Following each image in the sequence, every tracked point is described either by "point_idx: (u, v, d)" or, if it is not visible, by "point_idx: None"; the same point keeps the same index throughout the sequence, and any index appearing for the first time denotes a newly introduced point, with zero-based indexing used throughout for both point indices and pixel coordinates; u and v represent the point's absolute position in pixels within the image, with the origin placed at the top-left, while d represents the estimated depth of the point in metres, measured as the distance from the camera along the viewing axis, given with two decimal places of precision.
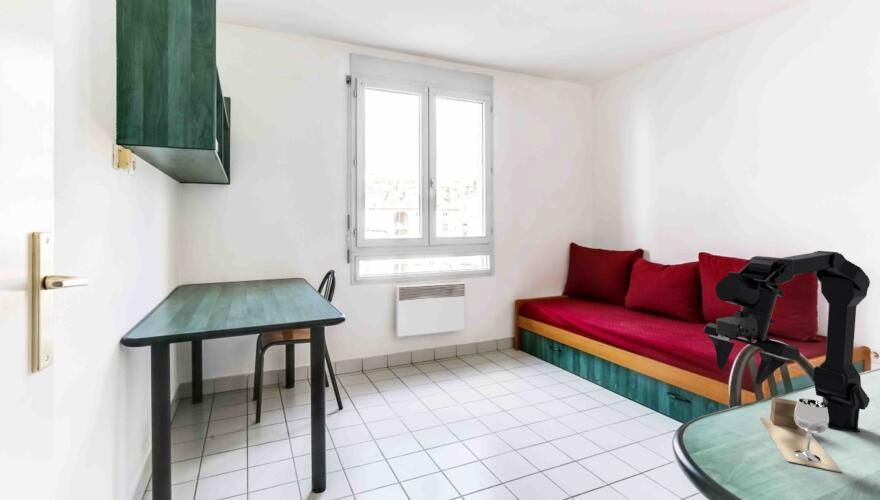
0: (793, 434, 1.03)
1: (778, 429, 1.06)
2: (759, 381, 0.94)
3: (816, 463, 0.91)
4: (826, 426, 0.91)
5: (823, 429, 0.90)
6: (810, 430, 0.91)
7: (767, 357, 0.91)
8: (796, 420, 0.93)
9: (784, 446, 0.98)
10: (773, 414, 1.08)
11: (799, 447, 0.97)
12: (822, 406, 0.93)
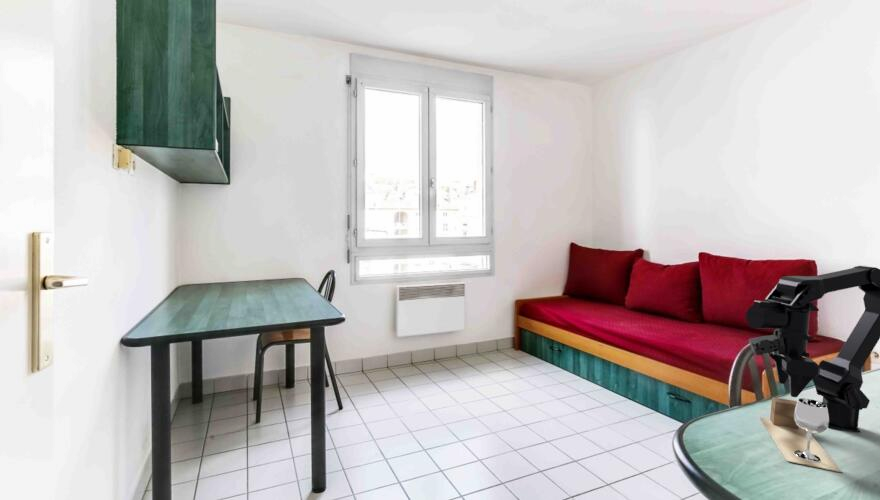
0: (793, 434, 1.03)
1: (778, 429, 1.06)
2: (793, 394, 1.03)
3: (816, 463, 0.91)
4: (826, 426, 0.91)
5: (823, 429, 0.91)
6: (810, 430, 0.91)
7: (785, 372, 1.02)
8: (796, 420, 0.93)
9: (784, 446, 0.98)
10: (773, 414, 1.08)
11: (799, 447, 0.97)
12: (822, 406, 0.93)
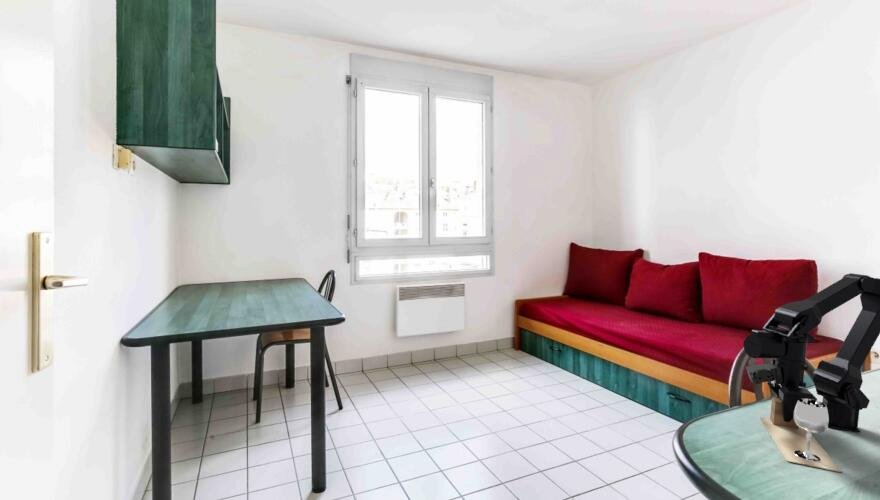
0: (793, 434, 1.03)
1: (778, 429, 1.06)
2: (785, 419, 1.06)
3: (816, 463, 0.91)
4: (826, 426, 0.91)
5: (823, 429, 0.91)
6: (810, 430, 0.91)
7: (779, 398, 1.05)
8: (796, 420, 0.93)
9: (784, 446, 0.98)
10: (773, 414, 1.08)
11: (799, 447, 0.97)
12: (822, 406, 0.93)
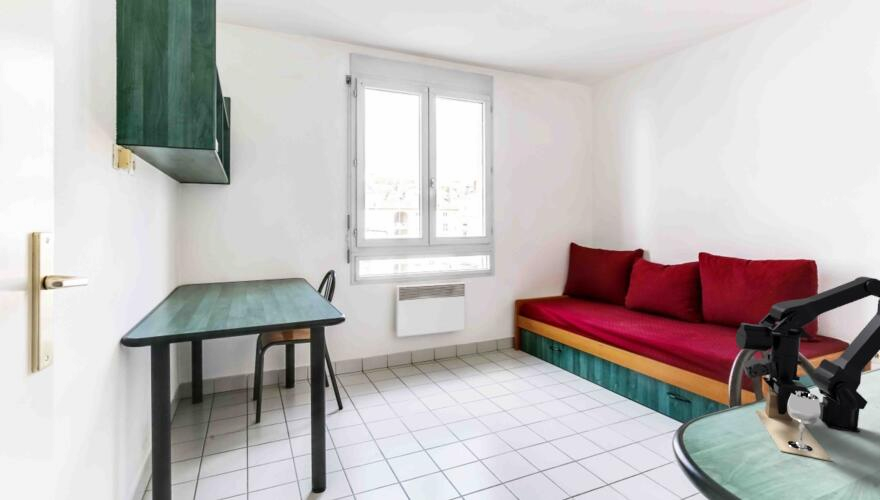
0: (787, 426, 1.07)
1: (773, 421, 1.10)
2: (780, 411, 1.10)
3: (808, 453, 0.95)
4: (818, 417, 0.95)
5: (815, 420, 0.95)
6: (802, 421, 0.95)
7: (773, 391, 1.09)
8: (789, 412, 0.98)
9: (778, 437, 1.02)
10: (768, 407, 1.13)
11: (793, 438, 1.02)
12: (814, 398, 0.97)
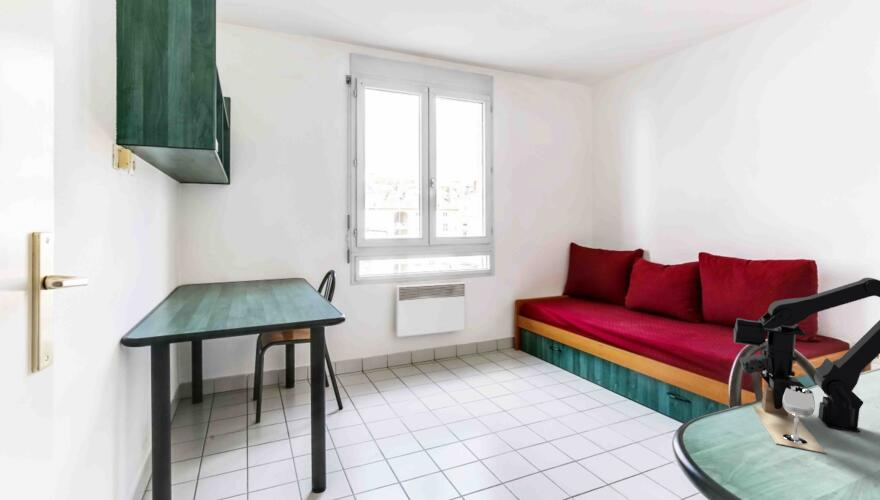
0: (783, 420, 1.11)
1: (769, 416, 1.13)
2: (776, 406, 1.14)
3: (803, 445, 0.98)
4: (812, 411, 0.98)
5: (809, 413, 0.98)
6: (797, 414, 0.99)
7: (769, 386, 1.12)
8: (784, 405, 1.01)
9: (774, 430, 1.05)
10: (764, 402, 1.16)
11: (788, 431, 1.05)
12: (808, 392, 1.00)
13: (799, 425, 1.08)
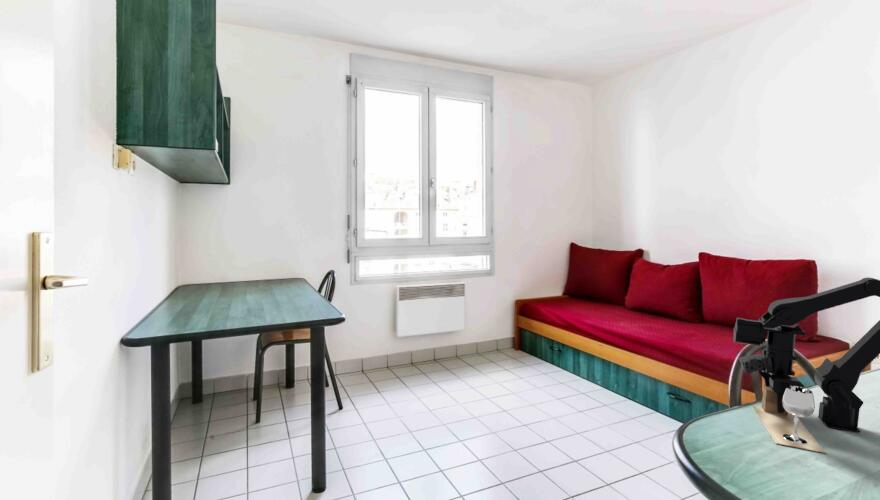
0: (783, 420, 1.11)
1: (769, 415, 1.13)
2: (779, 410, 1.11)
3: (803, 445, 0.98)
4: (812, 411, 0.98)
5: (809, 413, 0.98)
6: (797, 414, 0.99)
7: (772, 389, 1.10)
8: (784, 405, 1.01)
9: (774, 430, 1.05)
10: (764, 402, 1.16)
11: (788, 431, 1.05)
12: (808, 392, 1.00)
13: (799, 425, 1.08)
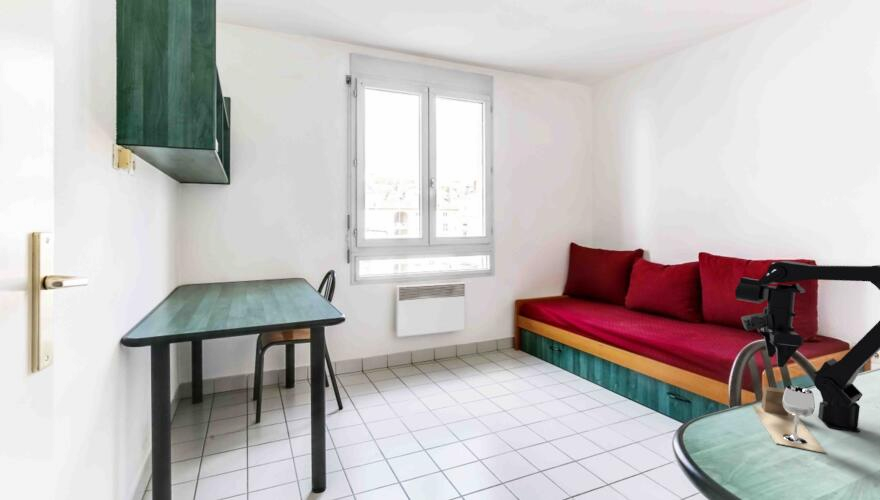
0: (783, 420, 1.11)
1: (769, 415, 1.13)
2: (779, 364, 1.16)
3: (803, 445, 0.98)
4: (812, 411, 0.98)
5: (809, 413, 0.98)
6: (797, 414, 0.99)
7: (773, 344, 1.15)
8: (784, 405, 1.01)
9: (774, 430, 1.05)
10: (764, 402, 1.16)
11: (788, 431, 1.05)
12: (808, 392, 1.00)
13: (799, 425, 1.08)
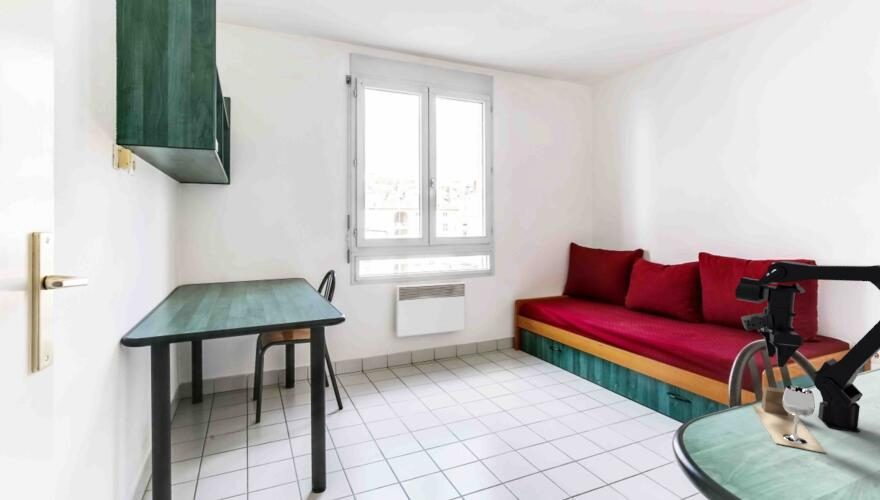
0: (783, 420, 1.11)
1: (769, 415, 1.13)
2: (779, 364, 1.16)
3: (803, 445, 0.98)
4: (812, 411, 0.98)
5: (809, 413, 0.98)
6: (797, 414, 0.99)
7: (773, 344, 1.15)
8: (784, 405, 1.01)
9: (774, 430, 1.05)
10: (764, 402, 1.16)
11: (788, 431, 1.05)
12: (808, 392, 1.00)
13: (799, 425, 1.08)
